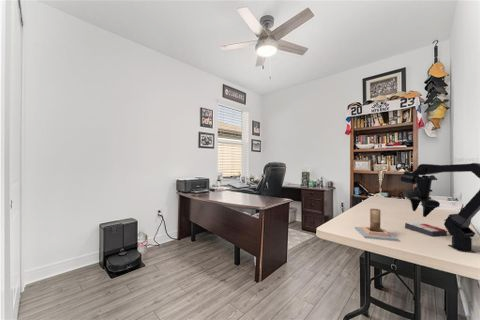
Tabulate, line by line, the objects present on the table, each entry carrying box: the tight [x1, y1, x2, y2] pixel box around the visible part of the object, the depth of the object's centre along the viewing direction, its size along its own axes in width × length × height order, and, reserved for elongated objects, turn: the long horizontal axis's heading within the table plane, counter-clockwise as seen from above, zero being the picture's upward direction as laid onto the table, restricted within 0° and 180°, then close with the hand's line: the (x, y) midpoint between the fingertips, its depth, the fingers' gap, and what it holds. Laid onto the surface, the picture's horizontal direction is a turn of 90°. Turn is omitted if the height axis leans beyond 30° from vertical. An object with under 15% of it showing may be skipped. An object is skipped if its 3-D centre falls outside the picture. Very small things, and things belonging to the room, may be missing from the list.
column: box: [369, 208, 382, 232], centre depth 111 cm, size 5×5×13 cm
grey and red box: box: [404, 221, 448, 238], centre depth 118 cm, size 11×4×15 cm
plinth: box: [354, 225, 400, 242], centre depth 111 cm, size 16×16×2 cm
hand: (418, 213), depth 110 cm, fingers open, 9 cm apart
